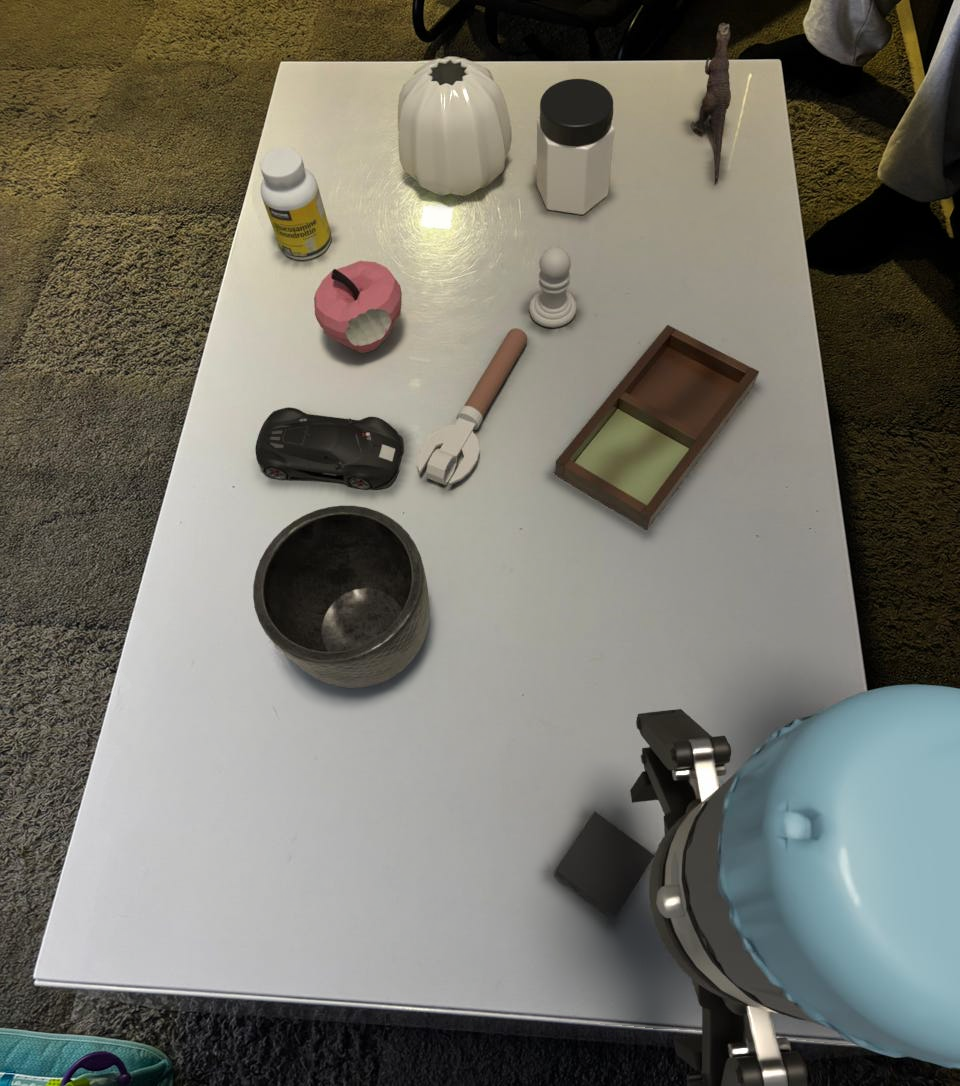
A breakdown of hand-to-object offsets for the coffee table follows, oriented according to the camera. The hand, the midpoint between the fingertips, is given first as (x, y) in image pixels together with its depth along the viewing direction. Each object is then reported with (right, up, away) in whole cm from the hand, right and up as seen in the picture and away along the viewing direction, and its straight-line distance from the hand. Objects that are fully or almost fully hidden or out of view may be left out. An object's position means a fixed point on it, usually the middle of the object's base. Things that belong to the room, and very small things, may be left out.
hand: (673, 911), depth 49 cm
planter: (-22, +13, +29) cm, 39 cm away
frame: (+7, +34, +37) cm, 50 cm away
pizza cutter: (-12, +36, +39) cm, 55 cm away
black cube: (-2, -5, +18) cm, 19 cm away
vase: (-14, +69, +55) cm, 90 cm away
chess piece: (-3, +48, +44) cm, 66 cm away
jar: (0, +65, +53) cm, 84 cm away
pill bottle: (-33, +59, +51) cm, 85 cm away
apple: (-24, +45, +44) cm, 68 cm away
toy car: (-27, +31, +38) cm, 56 cm away
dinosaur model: (+18, +72, +55) cm, 92 cm away
